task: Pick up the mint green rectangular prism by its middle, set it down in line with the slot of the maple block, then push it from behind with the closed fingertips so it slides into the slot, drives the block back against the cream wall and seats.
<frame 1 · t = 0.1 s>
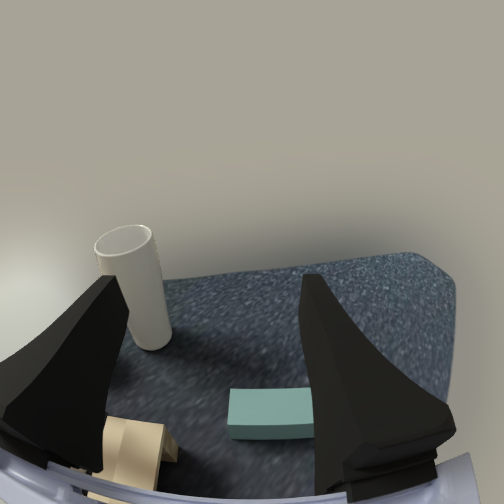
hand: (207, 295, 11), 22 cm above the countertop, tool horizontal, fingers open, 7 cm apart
block: (135, 477, 19), point 3 cm above the countertop, slide at 0.0 cm
drinking glass: (154, 338, 37), on the countertop
mint green rectangular prism: (291, 422, 27), on the countertop
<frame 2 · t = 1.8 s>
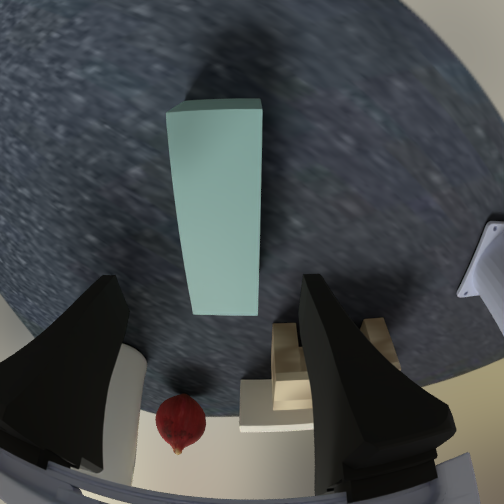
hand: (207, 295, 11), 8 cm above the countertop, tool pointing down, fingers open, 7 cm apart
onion: (184, 392, 33), on the countertop
block: (330, 365, 24), point 3 cm above the countertop, slide at 0.0 cm
drinking glass: (124, 353, 28), on the countertop
wall: (304, 382, 30), on the countertop
mint green rectangular prism: (225, 196, 18), on the countertop
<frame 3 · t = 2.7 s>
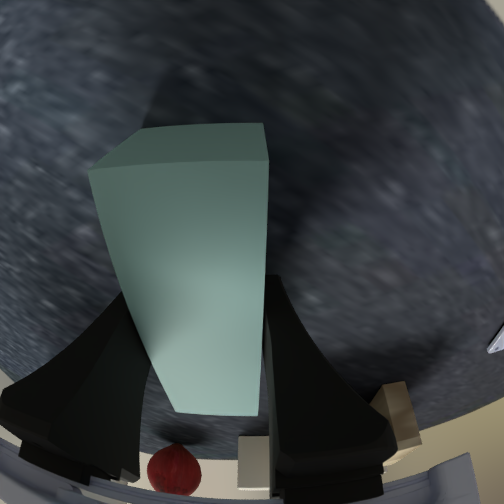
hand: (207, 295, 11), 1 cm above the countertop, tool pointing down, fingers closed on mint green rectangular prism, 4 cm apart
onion: (177, 441, 27), on the countertop
block: (341, 436, 18), point 3 cm above the countertop, slide at 0.0 cm
wall: (310, 436, 25), on the countertop
mint green rectangular prism: (211, 267, 13), on the countertop, touching gripper
when the fingers open (2 cm above the countertop, at t = 5.7 s): mint green rectangular prism stays where it is, on the countertop.
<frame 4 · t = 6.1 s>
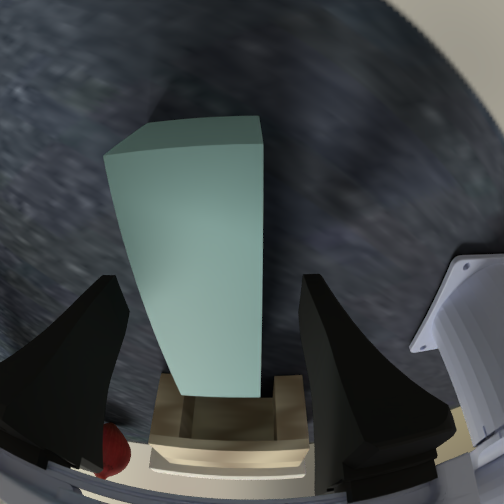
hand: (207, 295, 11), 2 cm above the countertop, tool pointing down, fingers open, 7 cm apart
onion: (111, 421, 28), on the countertop
block: (231, 426, 19), point 3 cm above the countertop, slide at 0.0 cm
wall: (228, 426, 25), on the countertop
mint green rectangular prism: (214, 252, 13), on the countertop
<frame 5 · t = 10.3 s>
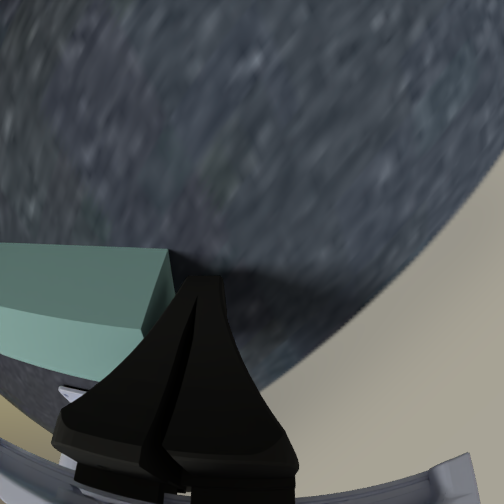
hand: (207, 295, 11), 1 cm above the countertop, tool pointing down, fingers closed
mint green rectangular prism: (59, 277, 12), on the countertop, touching gripper
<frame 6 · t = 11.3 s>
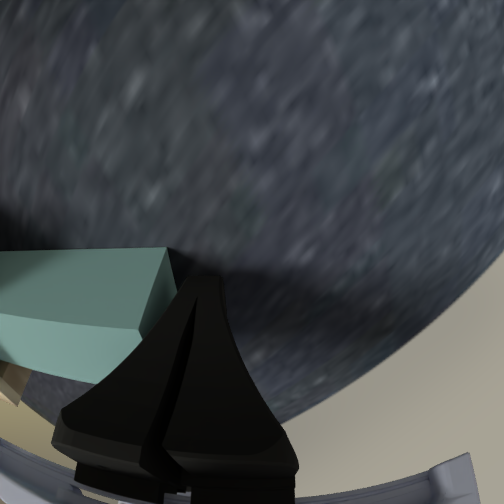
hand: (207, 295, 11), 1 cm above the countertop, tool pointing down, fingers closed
mint green rectangular prism: (62, 283, 12), on the countertop, touching gripper
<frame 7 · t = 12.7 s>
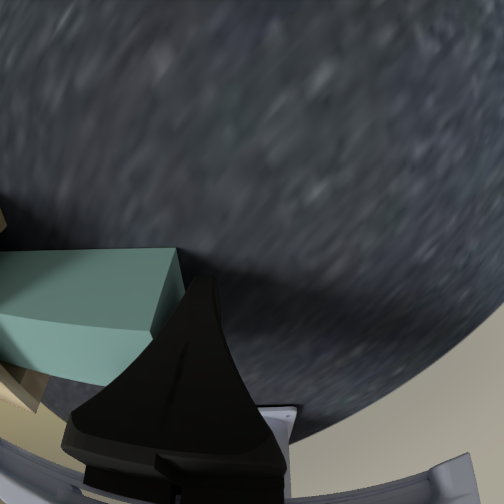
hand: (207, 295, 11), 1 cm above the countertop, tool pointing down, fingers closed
mint green rectangular prism: (67, 284, 12), on the countertop, touching block, gripper
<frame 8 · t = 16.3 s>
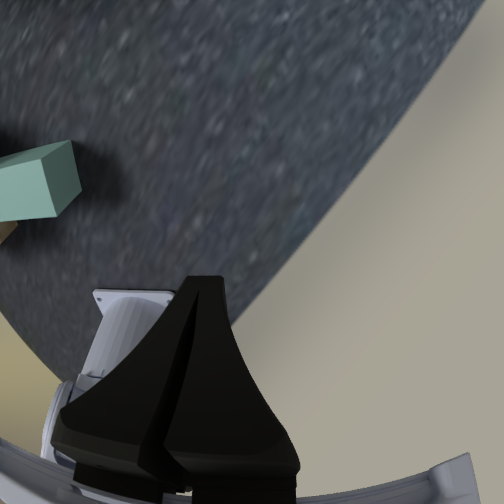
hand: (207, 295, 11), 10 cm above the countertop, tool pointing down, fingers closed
mint green rectangular prism: (22, 174, 18), on the countertop
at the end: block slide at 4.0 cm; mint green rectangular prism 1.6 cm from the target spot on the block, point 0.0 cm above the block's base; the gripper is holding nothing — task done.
